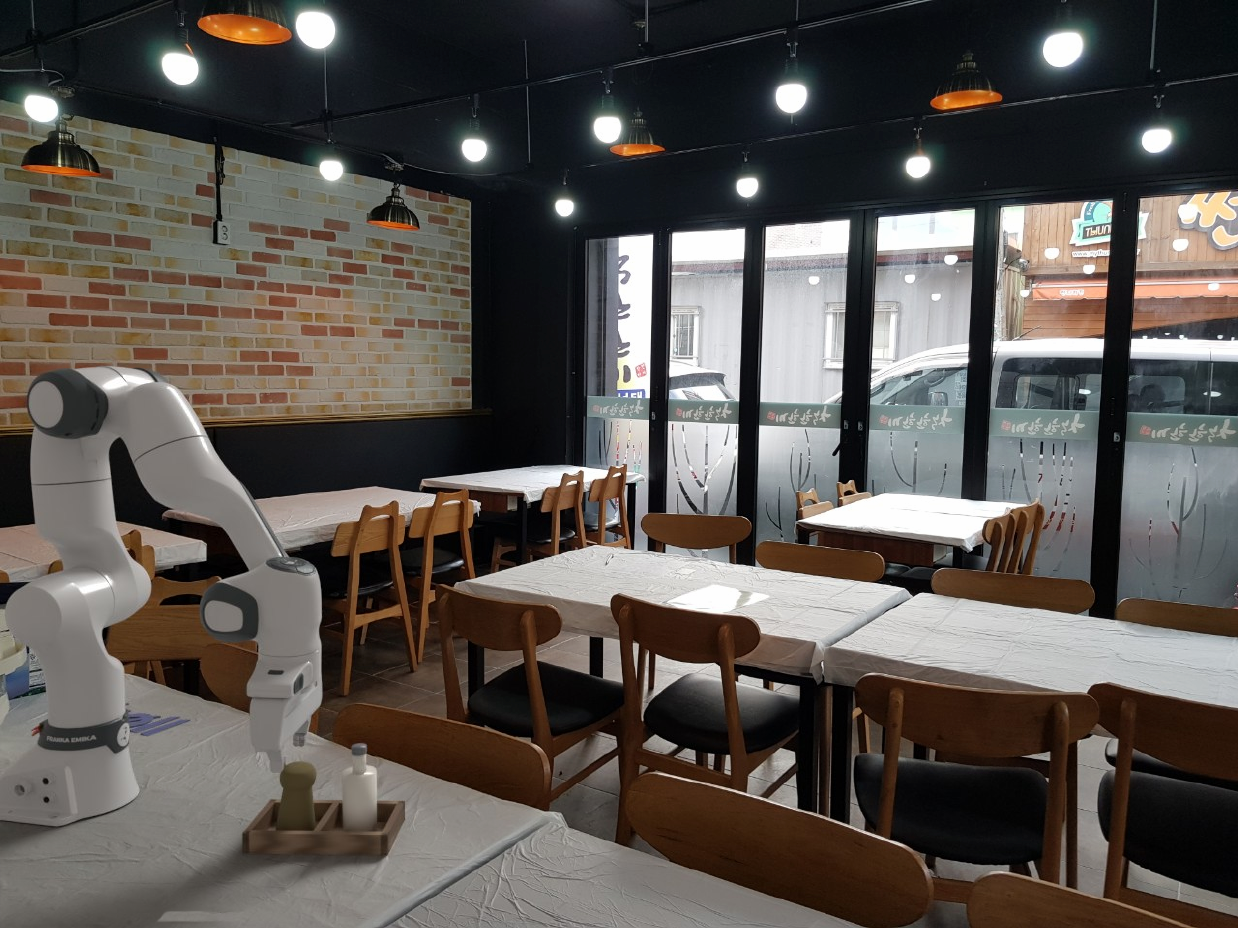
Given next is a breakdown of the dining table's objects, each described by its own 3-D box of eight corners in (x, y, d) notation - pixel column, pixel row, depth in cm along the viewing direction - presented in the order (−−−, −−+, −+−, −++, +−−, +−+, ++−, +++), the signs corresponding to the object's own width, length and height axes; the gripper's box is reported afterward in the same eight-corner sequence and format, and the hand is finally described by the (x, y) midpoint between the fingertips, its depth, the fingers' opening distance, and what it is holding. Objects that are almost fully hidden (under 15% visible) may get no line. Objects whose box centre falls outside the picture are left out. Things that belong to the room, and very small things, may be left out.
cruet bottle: (338, 843, 137) (337, 752, 135) (348, 827, 142) (347, 739, 140) (372, 844, 137) (371, 752, 135) (381, 828, 142) (380, 739, 140)
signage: (56, 709, 192) (102, 695, 201) (56, 713, 192) (102, 698, 201) (145, 735, 179) (190, 718, 188) (145, 738, 179) (190, 722, 188)
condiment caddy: (242, 859, 134) (242, 833, 133) (271, 823, 145) (270, 799, 144) (387, 861, 134) (387, 834, 133) (405, 825, 145) (404, 800, 144)
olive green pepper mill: (301, 848, 135) (305, 777, 134) (265, 840, 136) (268, 769, 135) (324, 828, 141) (327, 760, 140) (289, 820, 142) (292, 753, 141)
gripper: (293, 646, 147) (292, 730, 148) (241, 689, 127) (241, 785, 128) (332, 647, 147) (331, 731, 148) (287, 690, 127) (286, 787, 128)
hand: (289, 757), depth 138 cm, fingers open, 8 cm apart
